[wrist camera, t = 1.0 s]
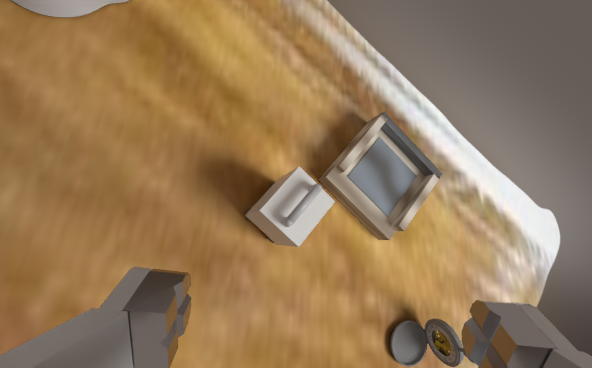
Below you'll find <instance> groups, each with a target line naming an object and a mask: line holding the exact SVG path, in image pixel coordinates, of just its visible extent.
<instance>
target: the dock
mask: <svg viewBox="0 0 592 368" xmlns="http://www.w3.org/2000/svg"><path fill="white" fill-rule="evenodd" d="M441 175H442V173H441V172H440V171H439V170H438V169H437V168H436V166H435V165H434V164H433V163H432V162H431V161H430V160H429V159H428V158H427V157H426V156H425V155H424V154H423V153H422V152H421V150H420V149H419V148H418V147H417V146H416V145H415V144H414V143H413V142H412V141H411V140H410V139H409V138H408V137H407V135H406V134H405V133H404V132H403V131H402V130H401V129H400V128H399V127H398V126H397V125H396V124H395V123H394V122H393V120H392V119H391V118H390V117H389V116H388V115H387V114H386V113H385V112H383V113H381V114H380V115H378V116H377V117H375V118H373V119H372V120H370V121H368V122H367V123H366V124H365V125H364V127H363V128H362V129H361V130H360V131H359V132H358V134H357V135H356V136H355V137H354V138H353V140H352V141H351V142H350V143H349V144H348V145H347V147H346V148H345V149H344V150H343V151H342V153H341V154H340V155H339V156H338V157H337V158H336V160H335V161H334V162H333V163H332V164H331V165H330V167H329V168H328V169H327V170H326V171H325V173H324V174H323V175H322V176H321V177H320V178H319V180H318V181H319V182H320V183H321V184H322V185H323V186H324V187H325V188H327V189H328V190H329V191H330V192H331V193H332V194H333V195H334V196H335V197H336V198H337V199H338V200H339V201H340V202H341V203H342V204H343V205H344V206H345V207H346V208H347V209H348V210H349V211H350V212H351V213H352V214H353V215H354V216H355V217H356V218H357V219H358V220H359V221H360V222H361V223H362V224H363V225H364V226H365V227H366V228H367V229H368V230H369V231H370V232H371V233H372V234H373V235H374V236H375V237H376V238H377V239H378V240H390V239H391V237H392V236H393V235H394V233H395V232H396V231H404V230H405V229H406V227H407V226H408V224H409V223H410V221H411V220H412V219H413V217H414V216H415V214H416V213H417V211H418V210H419V208H420V207H421V205H422V204H423V202H424V201H425V199H426V198H427V196H428V195H429V193H430V192H431V190H432V189H433V187H434V186H435V184H436V183H437V181H438V180H439V178H440V177H441Z"/></svg>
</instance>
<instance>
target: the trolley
mask: <svg viewBox="0 0 592 368" xmlns="http://www.w3.org/2000/svg"><path fill="white" fill-rule="evenodd" d="M334 202H335V201H334V200H333V199H332V198H331V197H330V196H329V195H328V194H327V193H326V192H325V191H324V190H323V189H322V187H321V185H320V184H317V183H316V182H315V181H314V180H313V179H312V178H311V177H310V176H309V175H308V174H307V173H306V172H305V171H304V170H303V169H302V168H301V167H300V166H299V167H297V168H296V169H294V170H292V171H291V172H289V173H287V174H286V175H284V176H282V177H281V178H279V179H278V180H277V181H275V182H273V183H271V185H270V187H269V190H268V191H267V192H266V193H265V194H264V195H263V196H262V197H261V198H260V200H259V201H258V202H257V203H256V204H255V205H254V206H253V207H252V208H249V209H248V210H247V211H246V213H245V217H246V219H247V220H248V221H249V222H253V223H254V224H255V225H256V226H257V227H258V228H259V229H260V230H261V231H263V232H264V233H265V234H266V235H267V236H268V239H269V240H270V241H271V242H272V243H276V244H277V245H285V246H294V247H299V246H300V245H301V244H302V242H303V241H304V240H305V239H306V237H307V236H308V235H309V234H310V232H311V231H312V230H313V229H314V227H315V226H316V225H317V223H318V222H319V221H320V220H321V218H322V217H323V216H324V215H325V213H326V212H327V211H328V210H329V208H330V207H331V206H332V205H333V203H334Z"/></svg>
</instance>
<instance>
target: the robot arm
mask: <svg viewBox="0 0 592 368" xmlns="http://www.w3.org/2000/svg"><path fill="white" fill-rule="evenodd" d="M12 1H13V2H15V3H17V4H18V5H20V6H22V7H24V8H26V9H28V10H31V11H33V12H36V13H39V14H43V15H48V16H54V17H75V16H81V15H85V14H88V13H91V12H93V11H95V10H97V9H99V8H101V7H103V6H105V5H107V4H112V3H121V2H126V1H129V0H12ZM190 286H191V276H190V274H189V273H187V272H178V271H169V270H161V269H151V268H141V267H134V268H132V269H130V270H129V271H128V273H127V274H126V275H125V276H124V278H123V279H122V280H121V281H120V283H119V284H118V285H117V286H116V288H115V289H114V290H113V291H112V293H111V294H110V295H109V296H108V298H107V299H106V300H105V301H104V303H103V304H102V305H101V306H100V308H99V309H95V308H92V309H90V310H88V311H86V312H84V313H82V314H80V315H78V316H77V317H75V318H73V319H71V320H69V321H67V322H65V323H63V324H61V325H59V326H57V327H55V328H53V329H51V330H49V331H47V332H45V333H43V334H41V335H39V336H37V337H35V338H33V339H31V340H29V341H27V342H25V343H23V344H21V345H20V346H18V347H16V348H14V349H12V350H10V351H8V352H6V353H4V354H2V355H0V368H170V366H171V363H172V361H173V358H174V356H175V354H176V351H177V349H178V337H180V336H181V335H182V334H184V332H185V329H186V327H187V324H188V320H189V316H190V310H191V297H190V296H189V295H188V293H187V292H188V290H189V288H190ZM470 313H471V315H472V318H471V319H469V320H468V321H467V322H465V324H464V326H463V329H462V344H463V347H464V350H465V352H466V354H467V355H468V357H469V359H471V360H472V361H473V362H474V363H476V364H477V365H478V366H479V367H478V368H592V356H590V355H588V354H586V353H585V352H579V351H577V350H576V348H575V347H574V346H573V345H571V343H570V342H569V341H568V340H567V339H566V338H565V337H564V336H563V335H562V334H561V333H560V332H559V331H558V330H557V329H556V328H555V327H554V326H553V325H552V324H551V323H550V322H549V321H548V320H547V319H546V318H545V316H543V315H542V313H540V311H539V310H538V309H537V308H536V307H534V306H532V305H530V304H524V303H504V302H493V301H482V300H476V301H475V302H474V303H473V304H472V306H471V309H470Z"/></svg>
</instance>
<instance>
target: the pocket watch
mask: <svg viewBox="0 0 592 368" xmlns="http://www.w3.org/2000/svg"><path fill="white" fill-rule="evenodd" d="M437 330H438V332H440V333H437ZM438 335H439V336H440V337H441V338H440V337H438ZM441 339H442V340H441ZM427 343H428V344H429V346H430V348H431V349H432V351H433V352H434V354H435V355H436V356H437V357H438V358H439V359H440V360H441V361H442V362H443V363H444V364H446V365H448V366H451V367H455V366H457V365H459V364H460V363H461V362H462V360H463V357H464V355H465V356H466V357H468V355H467V354H466V352H465V350H464V348H463V347H462V344H461V341H460V339H459V337H458V336H457V334H456V333H455V331H454V330H453V329H452V328H451V327H450V326H449V325H448V324H447V323H446V322H444V321H442V320H440V319H431V320H428V321H427V323H426V325H425V329H423V328H422V327H421V325H420V324H418V323H416V322H414V321H410V320H407V321H403V322H401V323H399V324H398V325H397V326H396V327H395V329H394V331H393V332H392V336H391V340H390V347H391V352H392V354H393V356H394V358H395V359H396V360H397V361H398V362H399V363H400V364H402V365H404V366H408V367H409V366H414V365H416V364H418V363H419V362H420V361H421V360H422V359H423V357H424V355H425V353H426V350H427ZM443 348H445V350H446V351H445V350H444V349H443ZM449 349H450V350H449ZM447 350H448V351H450V352H451V353H450V352H449V353H448V351H447ZM468 359H469V357H468ZM469 360H470V361H471V362H473V361H472V360H471V359H469ZM473 363H474V362H473Z"/></svg>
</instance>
